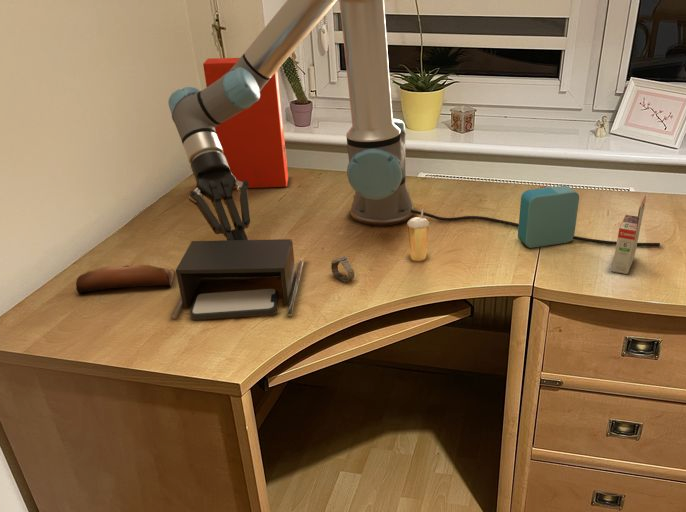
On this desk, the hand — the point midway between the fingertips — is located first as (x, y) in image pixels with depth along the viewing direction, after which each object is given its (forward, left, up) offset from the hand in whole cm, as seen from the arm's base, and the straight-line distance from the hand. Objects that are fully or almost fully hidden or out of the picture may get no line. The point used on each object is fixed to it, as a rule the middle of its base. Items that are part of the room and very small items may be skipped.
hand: (245, 260), depth 146 cm
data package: (-65, -13, -3) cm, 67 cm away
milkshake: (-36, -6, -3) cm, 37 cm away
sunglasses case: (+24, +4, -3) cm, 24 cm away
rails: (0, +7, -3) cm, 8 cm away
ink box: (-79, 0, -3) cm, 79 cm away
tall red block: (+7, -55, -3) cm, 56 cm away
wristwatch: (-20, +4, -3) cm, 21 cm away
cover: (0, +8, -3) cm, 9 cm away
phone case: (0, +15, -3) cm, 15 cm away
